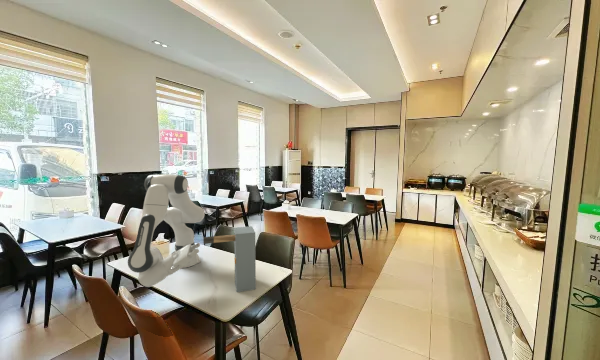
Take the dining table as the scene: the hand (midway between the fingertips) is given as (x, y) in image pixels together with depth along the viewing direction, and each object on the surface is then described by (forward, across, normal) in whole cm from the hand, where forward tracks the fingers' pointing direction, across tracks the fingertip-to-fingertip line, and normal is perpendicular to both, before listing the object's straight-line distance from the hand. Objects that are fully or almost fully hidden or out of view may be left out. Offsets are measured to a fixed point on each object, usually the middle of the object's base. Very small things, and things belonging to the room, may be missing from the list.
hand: (198, 246), depth 127 cm
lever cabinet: (+8, 0, +33) cm, 34 cm away
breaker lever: (+10, 0, +4) cm, 11 cm away
